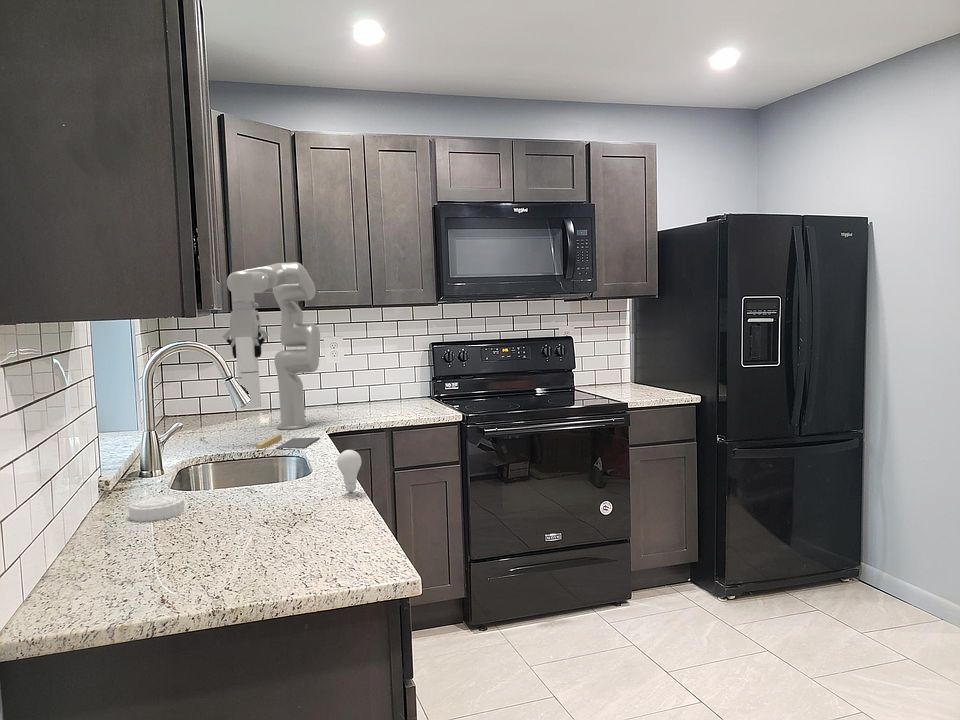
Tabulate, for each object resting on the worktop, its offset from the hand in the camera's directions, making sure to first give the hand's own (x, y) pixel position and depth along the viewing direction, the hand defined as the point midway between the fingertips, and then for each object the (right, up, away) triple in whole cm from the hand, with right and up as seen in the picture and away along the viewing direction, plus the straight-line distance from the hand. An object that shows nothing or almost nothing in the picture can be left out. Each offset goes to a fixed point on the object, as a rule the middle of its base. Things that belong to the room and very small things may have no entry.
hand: (247, 357), depth 256 cm
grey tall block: (+1, -18, +1) cm, 18 cm away
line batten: (+7, -31, +2) cm, 32 cm away
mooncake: (+5, -38, -83) cm, 92 cm away
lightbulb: (+49, -35, -71) cm, 93 cm away
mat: (+18, -31, +1) cm, 36 cm away
